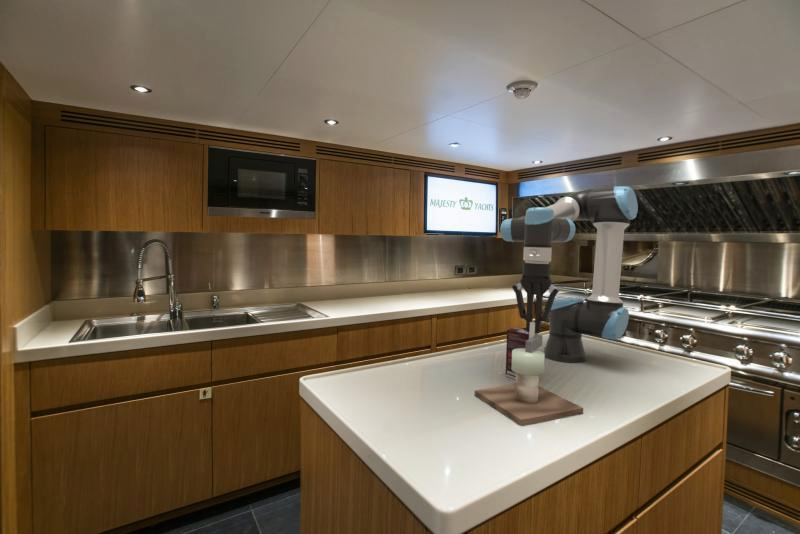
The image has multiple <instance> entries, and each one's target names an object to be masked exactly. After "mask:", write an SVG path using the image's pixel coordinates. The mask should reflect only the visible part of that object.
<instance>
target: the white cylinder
mask: <svg viewBox="0 0 800 534" xmlns="http://www.w3.org/2000/svg"><path fill="white" fill-rule="evenodd" d="M543 338H544V337H543V335H542V334H537V335H536V336H534V337H532V338H530V339H528V340H527V341H526V347H525V348H518V349H514V350H512V368H511V369H512V371H514V372H515V373H518V374H522V375H528V376H539V377H540V376H542V375H543V374H545V358H546V357H545V354H544V351H541V350H538V349H539V348H541V347H542V346H543Z"/></svg>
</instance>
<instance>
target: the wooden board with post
mask: <svg viewBox="0 0 800 534" xmlns="http://www.w3.org/2000/svg"><path fill="white" fill-rule="evenodd" d="M539 382H540V375H539V376H528V375H522V374H518V373H516V380H515V383H514V384H509V385H502V386H494V387H488V388H483V389H481V388H480V389H476V390H474V396H475V397H476V398H477V399H479V400H481V401H482V402H484V403H486V404H487V405H488V406H489V407H491V408H493V409H495V410H496V411H498V412H500V413H501V414H502V415H504V416H505V417H507V418H508V419H510V420H511V421H512V422H514V423H517V425H519V426H521V427H523V426H528V425H533V424H537V423H543V422H547V421H552V420H558V419H563V418H567V417H572V416H577V415H583V414H584V407H583V406H581V405H578V404H576V403H575V402H572V401H570V400H568V399H566V398H564V397H562V396H560V395H558V394H556V393H554V392H551V391H549V390H548V389H546V388H543V387H542V386H540V385H539V384H540V383H539Z"/></svg>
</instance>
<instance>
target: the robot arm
mask: <svg viewBox="0 0 800 534" xmlns="http://www.w3.org/2000/svg"><path fill="white" fill-rule="evenodd" d="M638 208H639V203H638V199H637V196H636V193H635V191H634V190H633V188H631V187H629V186H627V185H626V186H625V185H624V186H623V185H621V186H620V185H615V186H609V187H608V186H607V187H598V188H587V189H583V190H579V191H576V192H573V193H570V194H568V195H566V196H564V197H561V198H559V199H558V200H557V201H555V203H554V204H551V205H547V206H546V207H543V206H542V207H540V206H539V207H537V206H536V207H529V208H528V209H527V210H526V212H525V215H523V216H520V217H517V218H516V217H515V218H513V217H511V218H507V219H504V220H503V221H502V222H501V224H500V228H499V232H500V237H501V238H502V240H504V241H505V242H512V243H516V242H517V243H519V242H520V243H523V242H524V243H523V258H522V260H523V261H524V262H523V264H522V273H521V275H522V277H521V279H520V281H519V283H517V284H514V285H512V290H513V291H514V293H515V298H516V303H517V308H518V313H519V317H520V318H521V319H523V320H525V322H526V324H525V325H526V327H525V330H526V332H529V339H530V338H532V337H534V336H536V333H537V335H540V332H541V327H542V325H541V324H542V322H546V321H547V320H548V319H549V331H548V332H549V335H548V338H547V340H546V344H545V346H544V348H543V353H544V354H545V358H547V359H549V360H552V361H555V362H556V361H557V362H563V363H572V364H573V363H582V362H583V363H584V362H585V361H586V358H587V357H586V356H587V353H586V351H585V349H584V344H583V343H584V342H583V339H582V336H583V335H587V336H590V337H591V336H592V337H597V338H598V337H599V338H602V339H608V340H618V339H620V338H621V337H622V336H623V335H624V333H625V331H626V330H627V328H628V327H627V326H628V324H629V320H630V313H629V310H628V309H627V308H626V307H624V301H623V300H622V299H621V298H620V297H619V296H620V284H621V273H622V264H623V263H622V262H623V261H622V260H623V250H624V238H625V230H626V229H627V228H628V227H629V226H630V223H631V220H633V219H636V217H637V214H638V211H639V209H638ZM575 221H592V225H593V226H594V228H596V239H595V240H596V241H595V250H594V251H595V252H594V262H593V263H594V266H593V279H592V289H591V291H592V292H591V295H590V296H588V297H587V298H586V302H585V301H584V298H583V297H563V298H561V297H560V298H556V296H557V294H559V292H560V288H557V287H555V286H554V285H552V283H553V282H552V280H551V270H552V267H551V266H552V265H551V264H550V262H552V253H553V252H552V249H553V248H552V246H553V243H559V244H560V243H561V244H562V243H566V242H569V241H571V240H572V239H573V238H574V236H575V235H576V225H575V223H574V222H575ZM522 290H524V291H525V292H526V307H525V302H524V296H523V292H522ZM548 290H549V291H548ZM547 291H548V292H549V295H548V297H547V298H548V299H547V302H546V304H545V307H544V311H543V298H544V294H545V293H547ZM534 297H535V315H534V314H533V313H534ZM533 315H534V318H533ZM533 319H534V320H533Z"/></svg>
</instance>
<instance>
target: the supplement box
mask: <svg viewBox="0 0 800 534" xmlns="http://www.w3.org/2000/svg"><path fill="white" fill-rule="evenodd" d="M536 335H538V334H537V333H536ZM528 339H529V332H526V329H523V328H519V327H511V328H507V329H506V349H505V350H506V352H505V353H506V354H505V355H506V356H505V357H506V358H505V359H506V360H505V377H508V378H510V379H513V380H515V381H516V373H515V372H514V371H512V369H511V368H512V350H514V349H518V348H525V347H526V341H527V340H528Z"/></svg>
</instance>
